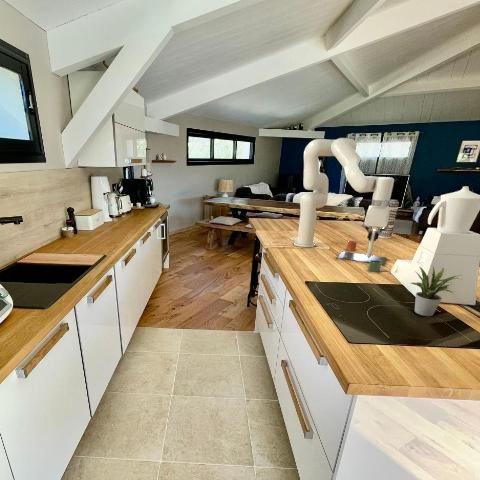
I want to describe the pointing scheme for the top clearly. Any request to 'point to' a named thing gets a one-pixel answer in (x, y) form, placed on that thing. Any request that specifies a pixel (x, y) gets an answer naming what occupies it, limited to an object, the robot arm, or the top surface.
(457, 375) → the top surface
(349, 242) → the reddish-brown cube
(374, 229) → the stylus
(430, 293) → the house plant
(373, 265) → the green cube
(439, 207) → the blender
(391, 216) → the tower model
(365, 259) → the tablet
